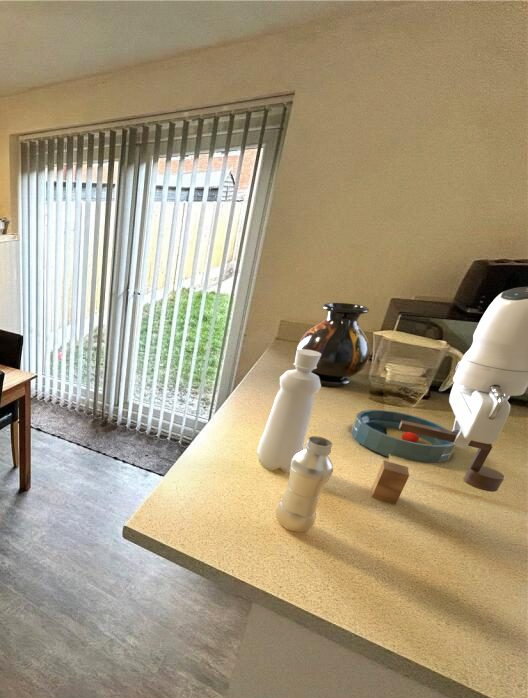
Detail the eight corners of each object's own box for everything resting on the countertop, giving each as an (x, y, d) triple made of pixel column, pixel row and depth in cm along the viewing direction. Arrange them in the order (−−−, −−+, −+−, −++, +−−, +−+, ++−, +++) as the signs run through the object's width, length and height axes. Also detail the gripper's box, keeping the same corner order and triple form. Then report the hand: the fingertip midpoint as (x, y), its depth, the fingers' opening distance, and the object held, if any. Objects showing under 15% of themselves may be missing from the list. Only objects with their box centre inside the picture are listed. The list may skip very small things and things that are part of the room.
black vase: (363, 395, 134) (393, 315, 123) (289, 383, 145) (310, 308, 134) (354, 375, 151) (380, 303, 140) (288, 365, 162) (307, 298, 151)
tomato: (420, 430, 104) (409, 431, 104) (423, 443, 103) (412, 443, 103) (408, 431, 107) (397, 432, 107) (411, 443, 106) (400, 444, 106)
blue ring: (442, 442, 107) (451, 423, 105) (453, 476, 93) (464, 455, 91) (351, 421, 118) (357, 403, 116) (348, 449, 105) (356, 429, 102)
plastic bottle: (319, 532, 78) (352, 447, 70) (293, 540, 76) (323, 453, 68) (290, 511, 83) (317, 429, 75) (265, 517, 82) (290, 435, 74)
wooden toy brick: (394, 495, 88) (407, 466, 84) (395, 504, 85) (409, 475, 82) (371, 488, 90) (383, 460, 87) (371, 497, 87) (384, 468, 84)
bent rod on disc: (494, 483, 77) (518, 442, 73) (500, 495, 74) (525, 453, 70) (385, 454, 87) (401, 417, 83) (386, 463, 84) (402, 425, 80)
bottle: (257, 471, 96) (289, 356, 84) (252, 451, 104) (280, 344, 92) (300, 479, 93) (340, 361, 81) (291, 458, 101) (326, 348, 89)
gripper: (534, 402, 62) (493, 473, 68) (503, 366, 77) (471, 427, 82) (476, 392, 66) (442, 460, 72) (457, 359, 80) (429, 418, 86)
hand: (457, 442), depth 77 cm, fingers closed on bent rod on disc
